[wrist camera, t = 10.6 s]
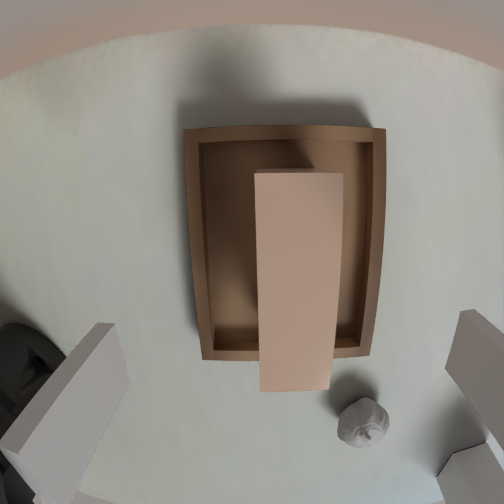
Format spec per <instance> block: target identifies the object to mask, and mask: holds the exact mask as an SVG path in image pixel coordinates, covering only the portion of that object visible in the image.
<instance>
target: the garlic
mask: <svg viewBox="0 0 504 504" xmlns="http://www.w3.org/2000/svg"><path fill="white" fill-rule="evenodd" d="M388 428H389V417H388V414H387V412H386V410H385V409H384V408H382V407H381V406H380V405H379V404H377V403H376V402H374V401H373V400H371V399H370V398H368V397H363V398H361V399H359V400H358V401H357V402H355V403H353V404H350V405H349V406H348V407H347V408H346V409H345V410H344V411H343V412H341V413H340V415H339V422H338V430H337V432H338V437H339V438H340V439H341V440H342V441H344V442H345V443H347V444H349V445H351V446H352V447H355V448H363V447H369V446H372V445H373V444H376V443H377V442H378V441H379V440H380V439H381V438H383V436H384V435H385V434H386V432H387V430H388Z"/></svg>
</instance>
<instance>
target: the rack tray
mask: <svg viewBox="0 0 504 504" xmlns="http://www.w3.org/2000/svg"><path fill="white" fill-rule="evenodd" d="M184 156H185V177H186V195H187V211H188V225H189V238H190V250H191V262H192V273H193V283H194V293H195V302H196V311H197V320H198V329H199V337H200V345H201V353H202V360H223V361H259V321H258V283H257V247H256V212H255V179H254V173H255V172H256V171H257V170H258V169H265V168H317V169H322V170H328V171H334V172H339V173H343V227H342V252H341V271H340V286H339V300H338V312H337V323H336V334H335V344H334V353H333V358H347V357H360V356H369V355H370V349H371V343H372V337H373V331H374V324H375V317H376V310H377V302H378V294H379V286H380V276H381V266H382V255H383V242H384V227H385V207H386V129H381V128H368V127H352V126H330V125H251V126H229V127H213V128H200V129H188V130H184Z"/></svg>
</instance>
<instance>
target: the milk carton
mask: <svg viewBox="0 0 504 504" xmlns="http://www.w3.org/2000/svg"><path fill="white" fill-rule="evenodd" d="M437 482H438V484H439V487H440V489H441V492H442V494H443V497H444V499H445V502H446V504H504V471H503V469H502V467H501V466H500V464H499V462H498V460H497V459H496V457H495V455H494V454H493V452H492V450H491V448H490V447H489V445H488V443H484V444H481V445H478V446H475V447H472V448H469V449H466V450H463V451H460V452H456V453H453V454H452V456H451V457H450V459H449V460H448V462H447V463H446V465H445V466H444V468H443V469H442V471H441V472H440V474H439V475H438V477H437Z"/></svg>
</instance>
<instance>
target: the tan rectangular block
mask: <svg viewBox="0 0 504 504" xmlns="http://www.w3.org/2000/svg"><path fill="white" fill-rule="evenodd" d="M254 179H255V212H256V247H257V283H258V321H259V361H260V392H286V391H312V390H328V389H329V385H330V377H331V370H332V361H333V353H334V344H335V334H336V323H337V312H338V300H339V286H340V271H341V252H342V227H343V173H339V172H334V171H328V170H322V169H317V168H265V169H258V170H257V171H256V172H255V173H254Z"/></svg>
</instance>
